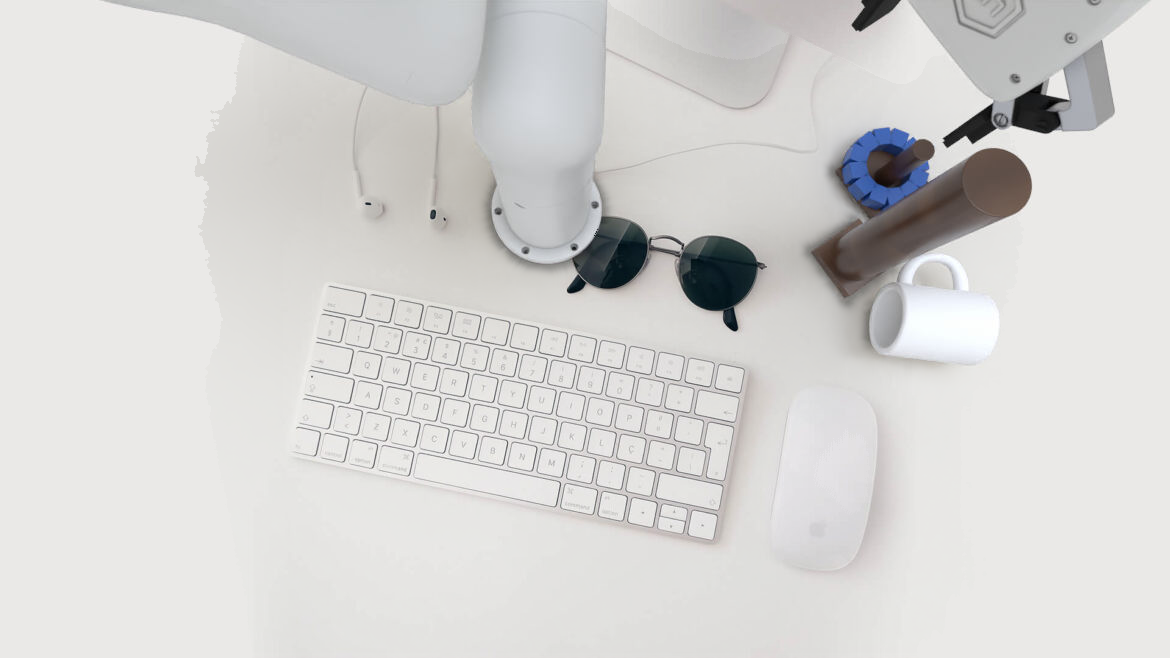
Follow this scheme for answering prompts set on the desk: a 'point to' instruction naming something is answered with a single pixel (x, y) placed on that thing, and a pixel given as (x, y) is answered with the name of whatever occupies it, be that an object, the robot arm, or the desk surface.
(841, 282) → the brown cylinder
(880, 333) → the mug
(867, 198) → the ring
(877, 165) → the post stand
